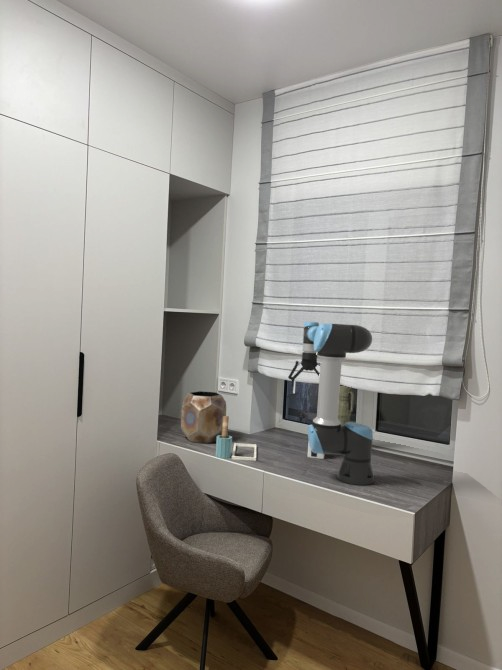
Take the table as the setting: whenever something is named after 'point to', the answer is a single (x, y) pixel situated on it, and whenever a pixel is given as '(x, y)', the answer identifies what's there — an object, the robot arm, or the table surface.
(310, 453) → the container
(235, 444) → the white rectangular frame
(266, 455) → the table surface
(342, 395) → the thermos
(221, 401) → the planter
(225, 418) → the brown wooden bar
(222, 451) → the cup
